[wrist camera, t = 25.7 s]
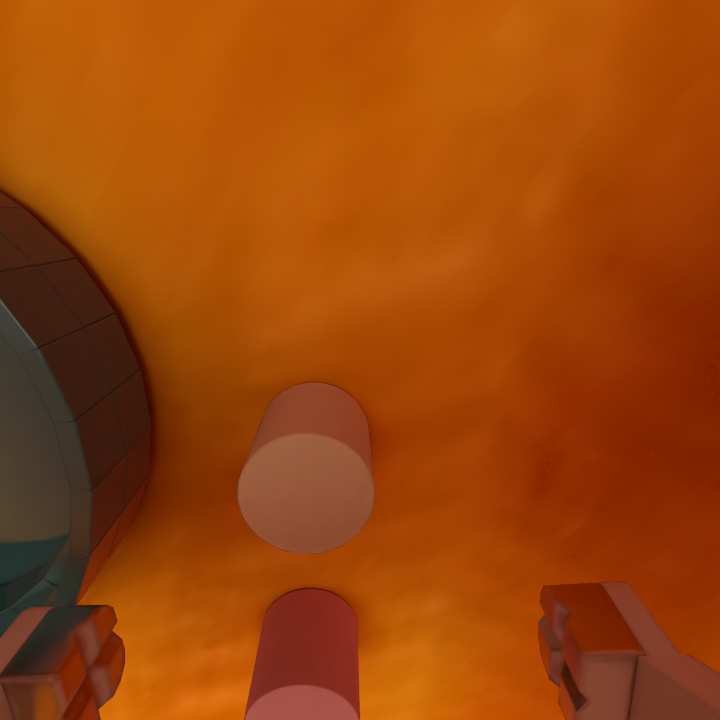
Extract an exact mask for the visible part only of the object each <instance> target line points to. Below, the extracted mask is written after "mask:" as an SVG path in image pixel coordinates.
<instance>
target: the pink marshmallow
mask: <svg viewBox="0 0 720 720" xmlns="http://www.w3.org/2000/svg"><path fill="white" fill-rule="evenodd" d="M244 720H360V703H359V669H358V635H357V620H356V617H355V614H354V612H353V610H352V609H351V608H350V606H349V605H348V604H347V603H346V602H345V601H344V600H343V599H341V598H340V597H338V596H337V595H335V594H333V593H330V592H327V591H324V590H319V589H302V590H297V591H293V592H290V593H288V594H286V595H284V596H282V597H280V598H279V599H278V600H276V601H275V602H274V603H273V604H272V605H271V606H270V608H269V609H268V611H267V613H266V615H265V617H264V621H263V626H262V631H261V636H260V641H259V646H258V651H257V656H256V661H255V666H254V671H253V676H252V682H251V687H250V692H249V697H248V702H247V707H246V712H245V717H244Z"/></svg>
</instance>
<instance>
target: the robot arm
mask: <svg viewBox="0 0 720 720" xmlns="http://www.w3.org/2000/svg"><path fill="white" fill-rule="evenodd" d="M540 604H541V606H542V609H543V611H544V613H545V615H544V616H543V617H542V618H541V620H540V621H539V624H538V639H539V647H540V653H541V657H542V661H543V664H544V667H545V670H546V672H547V675H548V678H549V679H550V680H551V681H552V682H553V683H555V684H556V685H557V686H558V687H559V700H558V703H559V706H560V708H561V711H562V713H563V716H564V718H565V720H720V674H719V673H718V672H716V671H715V670H713V669H712V668H710V667H708V666H707V665H705V664H704V663H702V662H700V661H699V660H697V659H696V658H694V657H693V656H691V655H680V653H679V652H678V650H677V649H676V648H675V646H674V645H673V643H672V642H671V641H670V639H669V638H668V636H667V635H666V634H665V632H664V631H663V629H662V628H661V627H660V625H659V624H658V622H657V621H656V620H655V618H654V617H653V616H652V614H651V613H650V611H649V610H648V609H647V607H646V606H645V604H644V603H643V602H642V600H641V599H640V597H639V596H638V595H637V593H636V592H635V590H634V589H633V588H632V586H631V585H630V584H629V583H627V582H626V581H610V582H597V583H580V584H561V585H543V587H542V590H541V595H540ZM116 623H117V618H116V615H115V611H114V608H113V607H111V606H109V605H73V606H56V607H30V608H28V609H26V610H24V611H22V612H21V613H20V615H19V616H18V617H17V618H16V619H15V621H14V622H13V623H12V624H11V625H10V627H9V628H8V629H7V630H6V631H5V633H4V634H3V635H2V636H1V637H0V720H101V718H100V714H99V708H100V707H101V706H103V705H104V704H105V703H106V702H107V701H108V700H110V699H111V698H112V697H113V696H114V694H115V692H116V690H117V687H118V685H119V683H120V681H121V677H122V673H123V669H124V664H125V649H124V645H123V641H122V639H121V638H120V637H119V636H118V635H116V634H115V633H114V632H113V631H112V630H113V628H114V626H115V624H116Z"/></svg>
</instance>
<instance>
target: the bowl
mask: <svg viewBox="0 0 720 720" xmlns="http://www.w3.org/2000/svg"><path fill="white" fill-rule="evenodd" d="M114 313H115V311H114V310H113V308H112V307H111V306H110V304H109V303H108V301H107V300H106V299H105V297H104V296H103V294H102V293H101V292H100V290H99V289H98V287H97V286H96V285H95V283H94V282H93V280H92V279H91V278H90V276H89V275H88V273H87V272H86V271H85V269H84V268H83V266H82V265H81V264H80V262H79V261H78V260H77V259H76V257H75V256H74V255H73V254H72V253H71V252H70V251H69V250H68V249H67V248H66V247H65V246H64V245H63V244H62V243H61V242H60V241H59V240H57V239H56V238H55V237H54V236H53V235H52V234H51V233H50V232H49V231H48V230H47V229H46V228H45V227H44V226H43V225H42V224H41V223H40V222H38V221H37V220H36V219H35V218H34V217H33V216H32V215H31V214H30V213H29V212H28V211H27V210H26V209H24V208H23V207H22V206H21V205H19V204H17V203H16V202H14V201H13V200H11V199H10V198H8V197H7V196H5V195H3V194H2V193H0V637H1V636H2V635H3V634H4V633H5V631H6V630H7V629H8V628H9V627H10V625H11V624H12V623H13V622H14V621H15V619H16V618H17V617H18V616H19V615H20V613H21V612H22V611H24V610H26V609H28V608H30V607H56V606H73V605H77V604H78V603H79V601H80V600H81V598H82V597H83V595H84V594H85V593H86V591H87V590H88V588H89V587H90V585H91V584H92V582H93V581H94V579H95V578H96V576H97V575H98V573H99V572H100V570H101V569H102V567H103V566H104V564H105V563H106V562H107V560H108V559H109V557H110V556H111V554H112V553H113V551H114V550H115V548H116V547H117V545H118V544H119V542H120V541H121V539H122V538H123V536H124V535H125V533H126V532H127V530H128V529H129V527H130V526H131V524H132V523H133V521H134V519H135V516H136V513H137V510H138V507H139V504H140V501H141V498H142V495H143V492H144V489H145V486H146V483H147V480H148V474H149V458H150V440H151V419H150V414H149V409H148V404H147V398H146V393H145V388H144V383H143V378H142V373H141V370H139V369H140V367H139V365H138V362H137V360H136V358H135V356H134V353H133V351H132V349H131V346H130V344H129V342H128V340H127V337H126V335H125V333H124V331H123V328H122V326H121V324H120V322H119V319H118V317H117V315H116V314H114Z"/></svg>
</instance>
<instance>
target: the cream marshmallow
mask: <svg viewBox="0 0 720 720" xmlns="http://www.w3.org/2000/svg"><path fill="white" fill-rule="evenodd" d="M237 496H238V503H239V508H240V510H241V513H242V516H243V518H244V519H245V521H246V523H247V524H248V526H249V527H250V528H251V530H252V531H253V532H254V533H255V534H256V535H257V536H258V537H260V538H261V539H262V540H263V541H265V542H266V543H268V544H270V545H271V546H274V547H276V548H278V549H281V550H284V551H287V552H291V553H298V554H316V553H322V552H327V551H330V550H333V549H336V548H338V547H340V546H342V545H344V544H346V543H347V542H349V541H350V540H351V539H353V538H354V537H355V536H356V535H357V534H358V533H359V532H360V531H361V530H362V529H363V527H364V526H365V524H366V523H367V521H368V519H369V517H370V515H371V513H372V510H373V507H374V502H375V485H374V476H373V467H372V457H371V448H370V439H369V429H368V423H367V419H366V416H365V414H364V411H363V410H362V408H361V406H360V405H359V404H358V402H357V401H356V400H355V399H354V398H353V397H352V396H351V395H349V394H348V393H347V392H345V391H344V390H342V389H340V388H338V387H335V386H333V385H329V384H325V383H303V384H299V385H295V386H293V387H290V388H288V389H286V390H285V391H283V392H282V393H280V394H279V395H278V396H277V397H275V398H274V399H273V401H272V402H271V403H270V404H269V406H268V407H267V409H266V411H265V413H264V416H263V418H262V421H261V423H260V426H259V428H258V431H257V433H256V436H255V438H254V441H253V444H252V446H251V449H250V451H249V454H248V456H247V459H246V461H245V464H244V466H243V469H242V471H241V474H240V477H239V481H238V488H237Z"/></svg>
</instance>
